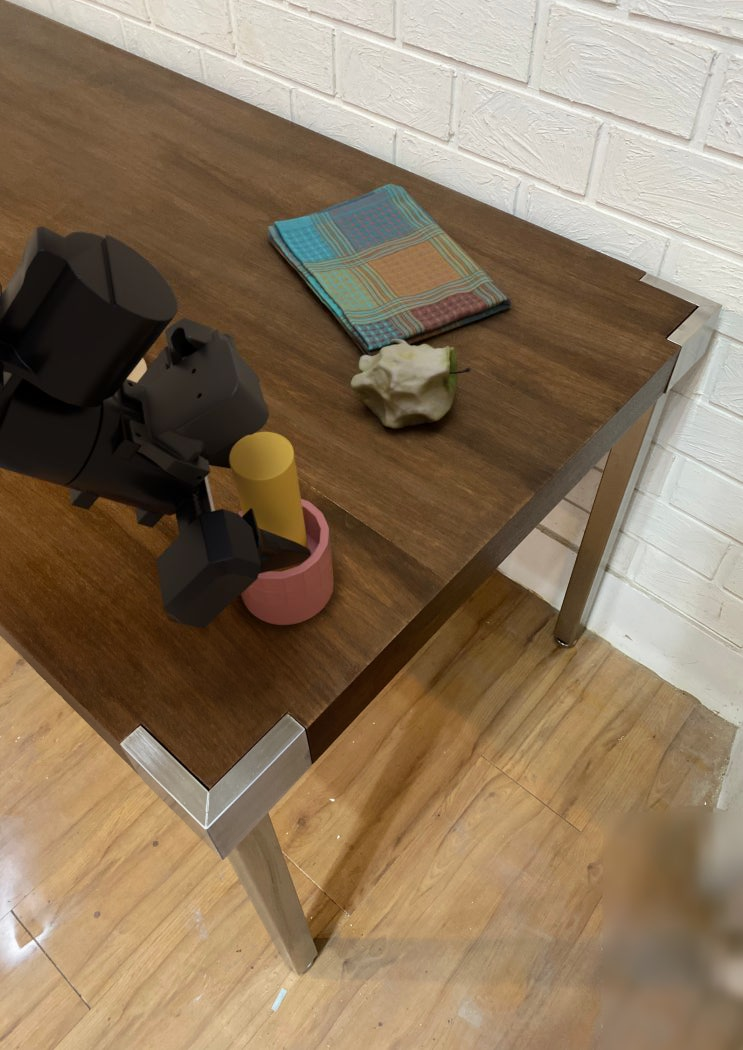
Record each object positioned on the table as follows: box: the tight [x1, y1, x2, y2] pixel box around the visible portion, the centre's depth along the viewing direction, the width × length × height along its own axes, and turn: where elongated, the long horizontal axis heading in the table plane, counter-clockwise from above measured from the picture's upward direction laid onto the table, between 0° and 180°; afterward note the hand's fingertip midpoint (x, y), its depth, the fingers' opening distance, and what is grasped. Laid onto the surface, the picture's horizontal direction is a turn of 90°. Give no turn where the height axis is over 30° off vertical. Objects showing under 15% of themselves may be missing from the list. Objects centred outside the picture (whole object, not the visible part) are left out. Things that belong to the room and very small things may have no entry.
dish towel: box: [266, 183, 512, 356], centre depth 82 cm, size 17×23×2 cm
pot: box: [237, 498, 335, 626], centre depth 57 cm, size 7×7×6 cm
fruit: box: [350, 339, 472, 430], centre depth 69 cm, size 9×9×8 cm
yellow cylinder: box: [229, 431, 310, 572], centre depth 53 cm, size 4×4×12 cm
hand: (293, 510), depth 53 cm, fingers open, 8 cm apart
